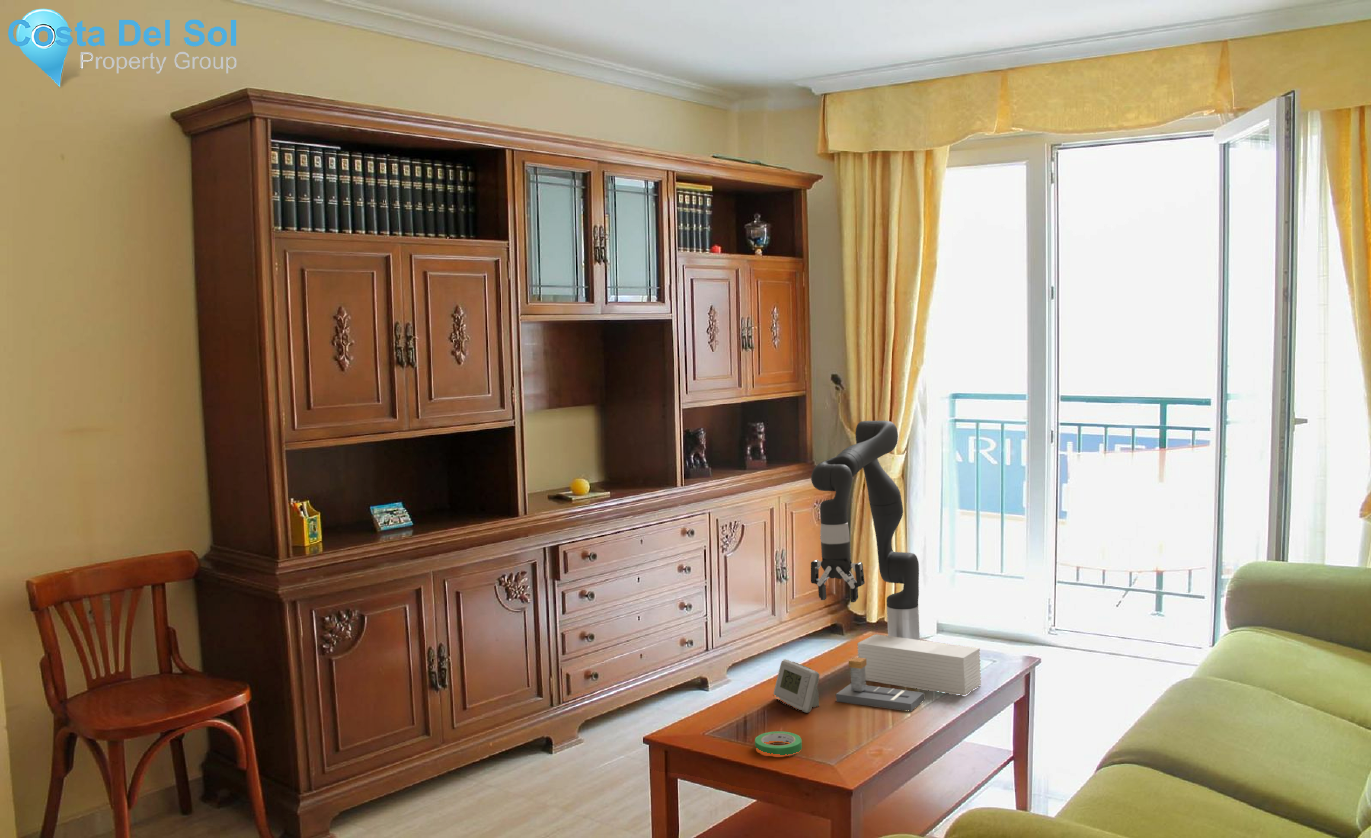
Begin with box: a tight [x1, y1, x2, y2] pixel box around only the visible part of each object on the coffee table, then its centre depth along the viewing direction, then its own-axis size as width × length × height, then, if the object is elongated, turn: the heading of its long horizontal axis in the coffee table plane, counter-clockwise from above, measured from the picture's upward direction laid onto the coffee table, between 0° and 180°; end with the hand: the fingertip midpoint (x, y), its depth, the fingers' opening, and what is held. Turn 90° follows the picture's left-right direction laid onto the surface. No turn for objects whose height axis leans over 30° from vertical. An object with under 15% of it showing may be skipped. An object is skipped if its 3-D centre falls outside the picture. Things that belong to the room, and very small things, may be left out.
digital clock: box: [773, 658, 820, 714], centre depth 282 cm, size 16×9×11 cm, turn 17°
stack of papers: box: [857, 633, 982, 695], centre depth 295 cm, size 32×11×11 cm, turn 51°
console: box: [835, 683, 926, 712], centre depth 281 cm, size 10×21×2 cm, turn 58°
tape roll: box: [754, 730, 803, 755], centre depth 251 cm, size 11×11×3 cm
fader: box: [848, 656, 867, 692], centre depth 284 cm, size 4×4×8 cm
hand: (838, 600), depth 278 cm, fingers open, 8 cm apart
